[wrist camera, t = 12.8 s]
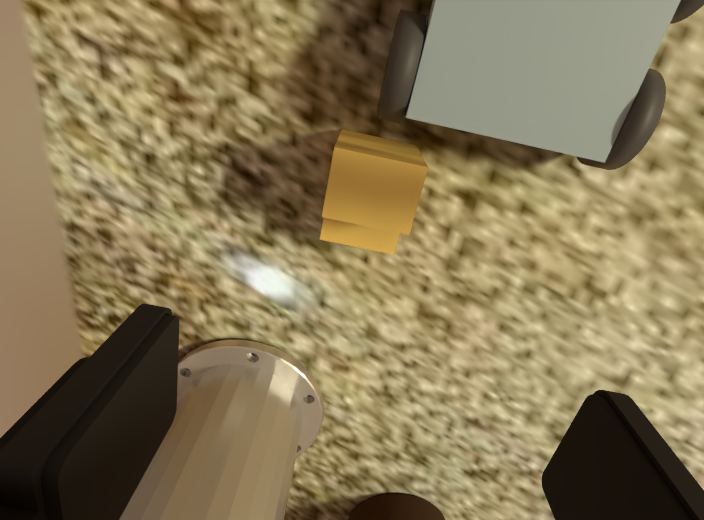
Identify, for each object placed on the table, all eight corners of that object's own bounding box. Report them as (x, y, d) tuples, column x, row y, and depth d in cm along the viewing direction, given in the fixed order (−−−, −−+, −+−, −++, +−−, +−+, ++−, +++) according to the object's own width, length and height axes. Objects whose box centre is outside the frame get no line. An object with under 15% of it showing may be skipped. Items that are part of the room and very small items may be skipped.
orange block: (391, 235, 28) (397, 277, 22) (324, 222, 27) (313, 261, 22) (415, 144, 25) (428, 167, 20) (342, 128, 25) (334, 147, 20)
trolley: (582, 159, 25) (704, 214, 16) (376, 112, 24) (378, 142, 15) (693, -91, 20) (967, -221, 11) (435, -158, 19) (494, -357, 10)
